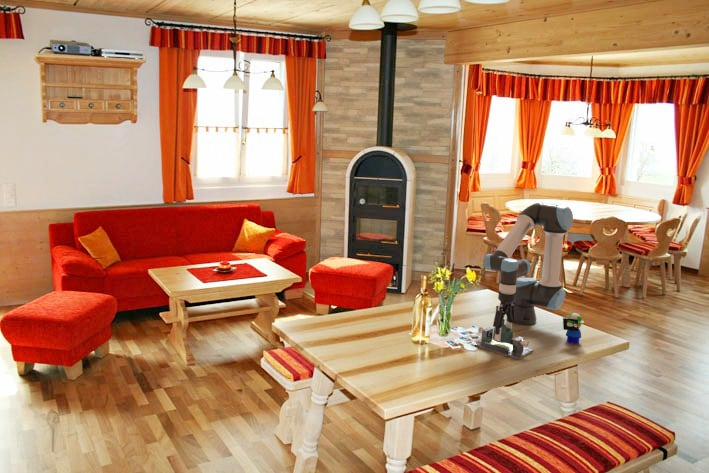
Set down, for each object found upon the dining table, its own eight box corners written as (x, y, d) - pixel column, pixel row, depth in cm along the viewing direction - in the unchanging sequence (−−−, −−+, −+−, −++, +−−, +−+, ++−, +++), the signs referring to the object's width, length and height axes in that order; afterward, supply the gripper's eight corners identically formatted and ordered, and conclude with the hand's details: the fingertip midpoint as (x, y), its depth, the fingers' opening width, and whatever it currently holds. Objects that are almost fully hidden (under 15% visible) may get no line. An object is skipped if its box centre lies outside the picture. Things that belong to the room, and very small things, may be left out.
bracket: (502, 344, 287) (504, 326, 285) (488, 337, 295) (490, 319, 293) (516, 341, 292) (518, 323, 290) (502, 334, 299) (504, 317, 298)
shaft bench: (486, 336, 307) (488, 323, 306) (533, 351, 291) (535, 337, 289) (470, 344, 296) (471, 330, 295) (518, 359, 280) (519, 345, 278)
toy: (559, 342, 304) (562, 313, 301) (567, 337, 311) (570, 309, 308) (576, 347, 298) (580, 317, 295) (584, 342, 305) (588, 313, 302)
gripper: (511, 286, 298) (507, 330, 303) (487, 294, 282) (483, 341, 287) (525, 289, 293) (521, 334, 298) (502, 298, 277) (498, 346, 282)
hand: (502, 337), depth 293 cm, fingers closed on bracket, 9 cm apart
